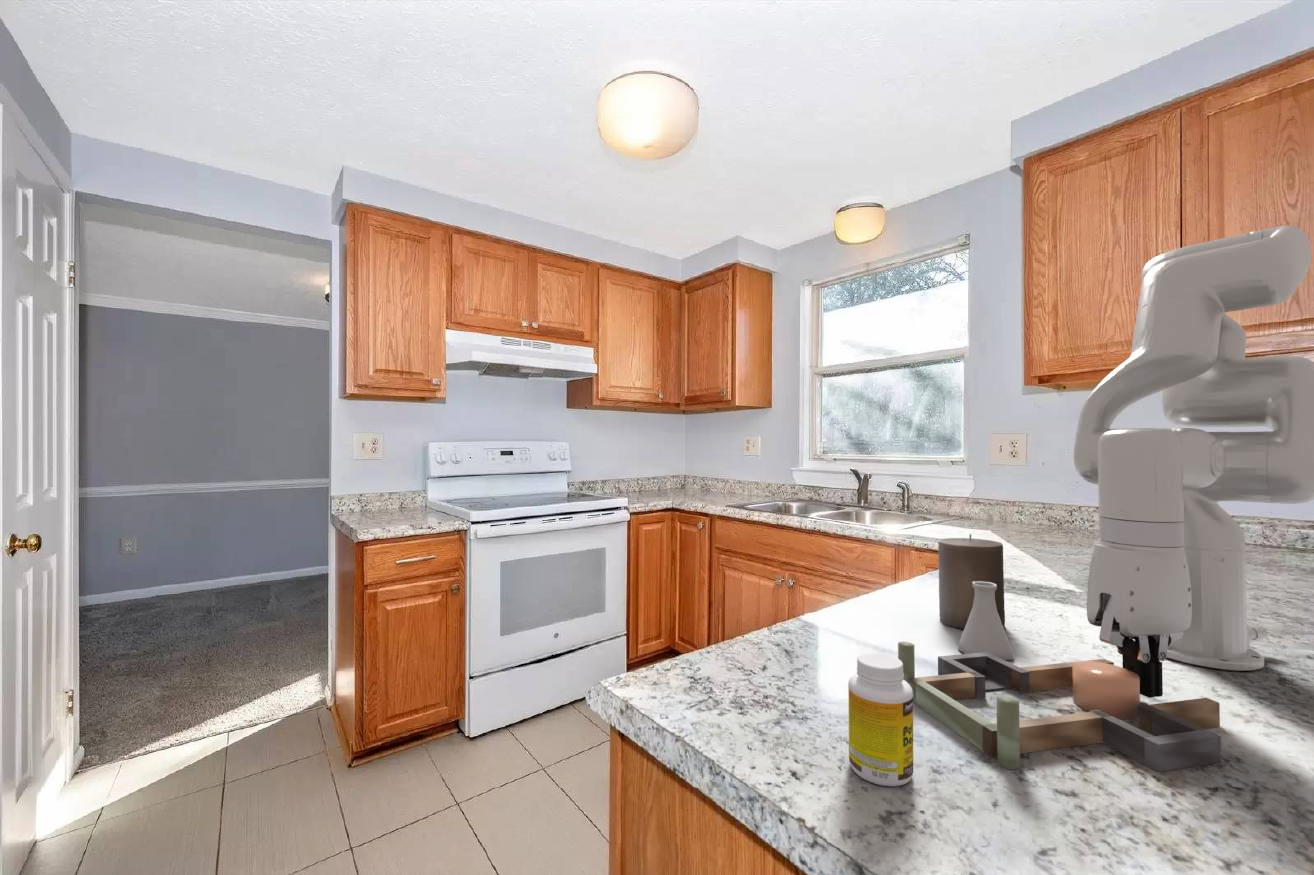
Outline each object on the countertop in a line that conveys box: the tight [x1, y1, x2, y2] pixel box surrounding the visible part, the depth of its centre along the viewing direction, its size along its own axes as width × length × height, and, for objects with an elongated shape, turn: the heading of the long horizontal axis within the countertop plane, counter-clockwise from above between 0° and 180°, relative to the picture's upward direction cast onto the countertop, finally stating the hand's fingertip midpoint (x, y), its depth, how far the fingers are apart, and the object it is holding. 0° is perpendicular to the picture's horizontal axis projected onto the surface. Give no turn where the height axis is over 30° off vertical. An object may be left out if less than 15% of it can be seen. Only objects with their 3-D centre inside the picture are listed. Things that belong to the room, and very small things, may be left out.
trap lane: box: [897, 641, 1222, 773], centre depth 62 cm, size 28×23×6 cm
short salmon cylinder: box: [1072, 660, 1141, 720], centre depth 64 cm, size 6×6×4 cm
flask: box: [957, 581, 1015, 661], centre depth 80 cm, size 7×7×10 cm
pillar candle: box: [937, 533, 1006, 630], centre depth 94 cm, size 10×10×15 cm
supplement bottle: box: [847, 652, 914, 787], centre depth 51 cm, size 6×6×10 cm
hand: (1142, 691), depth 65 cm, fingers closed
